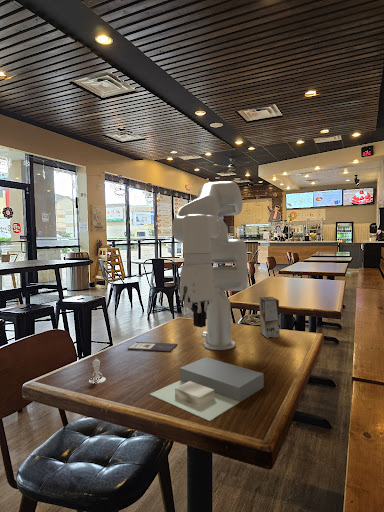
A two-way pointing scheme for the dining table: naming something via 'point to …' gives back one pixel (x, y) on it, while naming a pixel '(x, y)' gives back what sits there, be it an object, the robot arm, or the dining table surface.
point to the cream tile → (194, 393)
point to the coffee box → (269, 317)
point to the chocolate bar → (153, 346)
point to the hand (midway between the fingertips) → (199, 326)
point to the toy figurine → (95, 364)
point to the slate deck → (223, 378)
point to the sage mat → (205, 411)
